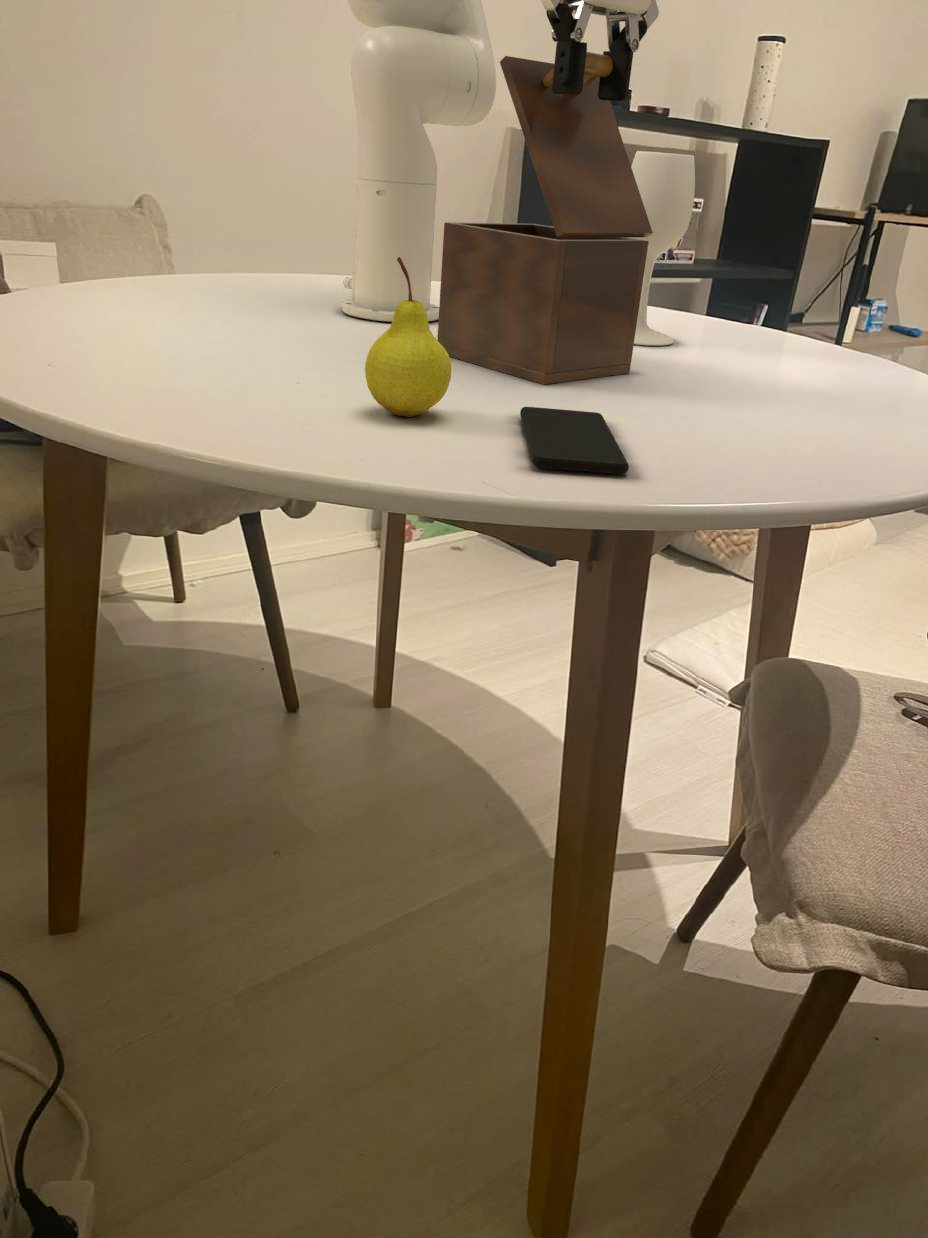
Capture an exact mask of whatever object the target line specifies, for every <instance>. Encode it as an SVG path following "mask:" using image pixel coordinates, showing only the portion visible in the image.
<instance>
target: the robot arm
mask: <svg viewBox="0 0 928 1238" xmlns="http://www.w3.org/2000/svg"><path fill="white" fill-rule="evenodd" d="M540 1H541V4H542V5H543V8H544V10H546V12H545V13H546V17H547V19H548V22H549V25H550V26H551V29H552V30H551V39H552V41H553V42H554V43H556V46H555V56H554V63H553V64H554V74H553V84H552V92H553V93H555V94H575V95H579V94H580V93H581V92H582V89H583V80H584V71H585V62H586V54H587V52H588V42H584V41H582V40H584V39H583V38H584V35H585V33H586V30H587V27H588V24H589V21H590V17H591V14H592V15H598V16H604V17H605V20H606V34H607V45H608V46H607V48H608V50H603V51H602V55H607V56H610V57H611V59H612V61H613V69H612V71H611V73H610V75H609V76H607V77H600V81H599V90H598V97H599V99H600V100H609V101H612V102H613V101H615V102H616V101H617V102H625V101H627V100H628V97H629V89H630V82H631V75H632V66H633V59H634V53H637V52H638V50H639V48H640V42H641V41H642V39H643V38H644V37H645V35H646V34H647V32H648V30H649V28H650V27H652V25H653V23H655V21H656V20H657V19H658V18H659V14H660V12H659V11H660V10H659V6H658V4H657V0H540ZM347 3H348V6H349V8H350V10H351V13H352V15H353V16H354V17H355V19H356V20H357V21H358V22H359V23H361V24H363V25H364V26H367V27H370V28H371V29H370V30H368V31H366V32H365V33H364V34H363V35H361V37H360V38H359V39H358V41H357V42H356V44H355V46H354V49H353V52H352V57H351V61H350V63H351V64H350V71H351V72H350V77H351V85H352V86H351V87H352V91H353V92H352V93H353V99H354V109H355V116H356V128H357V129H356V130H357V186H356V189H357V190H356V191H357V192H356V229H355V230H356V232H355V234H356V235H355V236H356V237H355V270H354V271H353V272H351V277H349V276H347V277H344V279H343V281H342V284H343V285H342V286H343V287H344V288H346V289H350V290H351V298H349V299H346V300H344V301H342V305H341V307H342V308H341V311H342V312H343V313H344V314H346V315H348V316H351V317H354V318H359V319H364V320H371V321H378V322H390V323H392V321H393V318H394V313H395V310H396V307H397V306H398V304H399V303H400V302H401V301H404V300H408V299H409V289H408V283H407V279H406V277H405V275H404V273H403V271H402V268H401V266H400V264H399V262H398V261H397V259H398V257H400V258H401V260H402V262H403V264H404V266H405V268H406V270H407V272H408V275H409V279H410V285H411V292H412V300H416V301H418V302H420V303H421V304H422V305H423V307H424V309H425V311H426V313H427V318H428V322H434V321H437V320H438V321H439V305H435V304H433V303H431V291H432V276H433V275H432V273H433V256H434V238H435V237H434V236H435V218H436V202H437V186H438V185H437V181H438V180H437V178H438V165H437V164H438V163H437V157H436V153H435V151H434V147H433V145H432V143H431V141H430V138H429V136H428V133H427V131H426V129H425V126H424V125H425V124H426V125H427V124H430V125H441V126H451V127H470V126H474V125H477V124H479V123H480V122H482V121H483V120H484V119H485V118H486V117H487V116H488V115H489V113H490V111H491V109H492V108H493V105H494V101H495V98H496V97H495V96H496V91H497V70H496V61H495V57H494V52H493V46H492V42H491V38H490V32H489V29H488V25H487V24H488V23H487V19H486V15H485V11H484V10H485V9H484V6H483V1H482V0H347ZM574 14H575V16H574ZM621 22H624V26H623V28H622V29H621V25H620V23H621Z"/></svg>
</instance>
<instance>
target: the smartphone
mask: <svg viewBox="0 0 928 1238" xmlns="http://www.w3.org/2000/svg"><path fill="white" fill-rule="evenodd" d="M519 415H520V419H521V422H522V427H523V428H522V429H523V432H524V436H525V439H526V440H525V441H526V444H527V449H528V453H529V457H530V460H531V464H532V466H534V467H535V468H539V469H548V470H549V469H550V470H551V469H552V470H563V471H573V472H574V471H575V472H585V473H586V472H587V473H599V474H600V473H601V474H612V475H613V474H614V475H625V474H626V473H628V471H629V469H630V465H629V463H628V460H627V459H626V457H625V455H624V453H623V451H622V449H621V447H620V446H619V444H618V442H617V440H616V438H615V437H614V434H613V432H612V431H611V429H610V427H609V425H608V423H607V421H606V420H605V418H604V416H603V415H602V413H600V412H595V411H585V410H584V411H583V410H571V409H561V408H549V407H548V408H547V407H538V406H537V407H536V406H522V407H521V409H520V412H519Z"/></svg>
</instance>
